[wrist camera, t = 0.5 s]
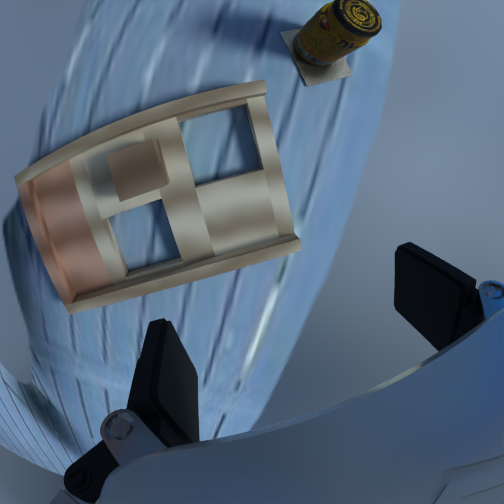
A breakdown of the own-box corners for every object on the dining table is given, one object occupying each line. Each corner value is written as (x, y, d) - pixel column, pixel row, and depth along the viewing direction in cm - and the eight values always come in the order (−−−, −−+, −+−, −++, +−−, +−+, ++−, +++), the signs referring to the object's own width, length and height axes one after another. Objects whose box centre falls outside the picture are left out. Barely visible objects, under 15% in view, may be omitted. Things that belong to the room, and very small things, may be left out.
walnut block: (118, 155, 27) (106, 156, 23) (158, 140, 27) (151, 138, 23) (130, 195, 28) (119, 202, 25) (170, 182, 29) (164, 186, 25)
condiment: (326, 24, 25) (370, -12, 14) (351, 75, 29) (407, 54, 18) (278, 33, 26) (311, -11, 14) (306, 87, 29) (353, 62, 18)
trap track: (30, 172, 26) (14, 176, 22) (257, 87, 28) (264, 79, 24) (79, 300, 34) (69, 314, 30) (292, 239, 36) (301, 250, 32)
